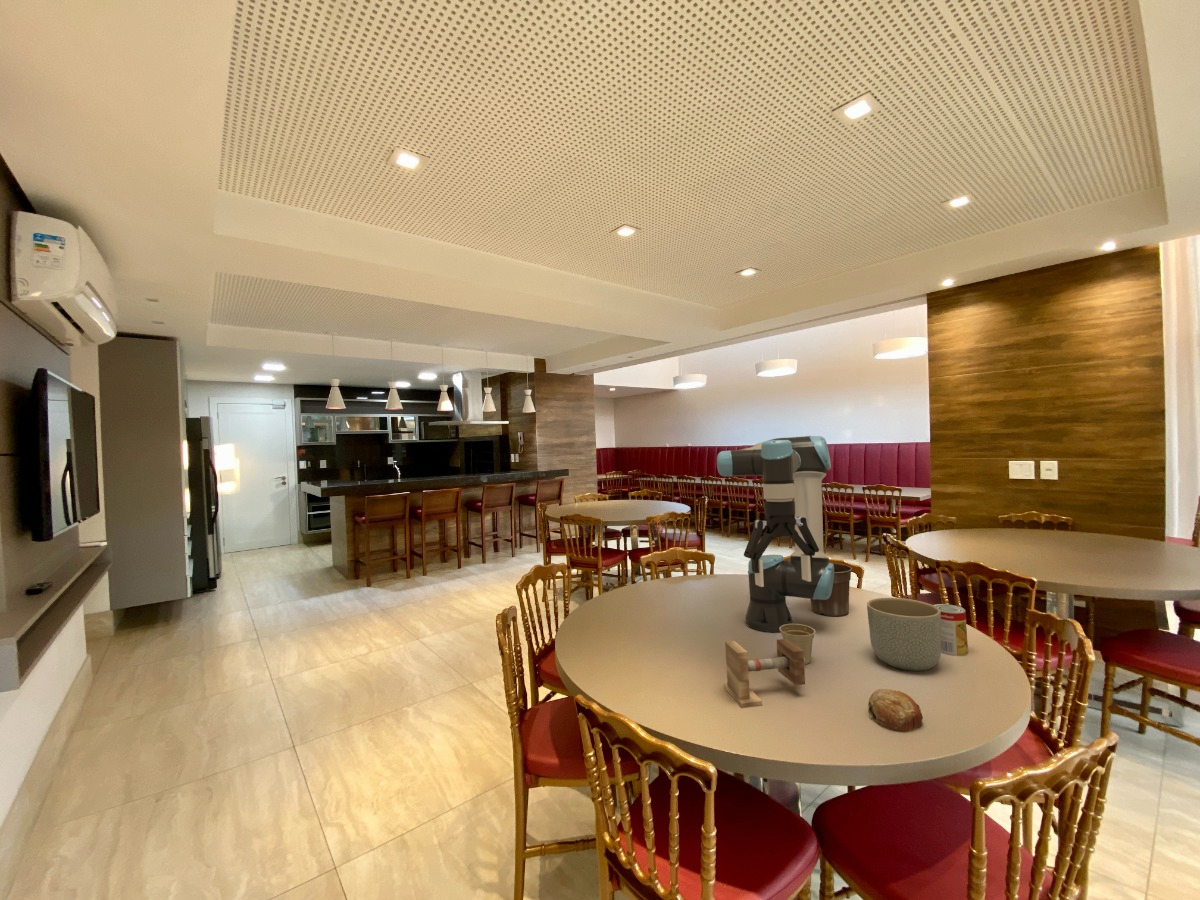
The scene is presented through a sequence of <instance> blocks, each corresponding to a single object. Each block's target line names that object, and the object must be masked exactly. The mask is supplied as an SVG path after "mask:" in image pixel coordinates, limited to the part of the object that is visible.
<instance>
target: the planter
mask: <svg viewBox="0 0 1200 900" xmlns="http://www.w3.org/2000/svg"><path fill="white" fill-rule="evenodd" d="M934 605H935V604H931V603H928V602H925V601H920V600H916V599H910V598H904V597H903V598H902V597H901V598H900V597H879V598H873V599H870V600H869V601H867V603H866V609H867V619H868V631H869V639H870V645H871V648H872V650H873V652H874V654H875V655H876V656H877V658H879V660H881V661H882V662H884V663H885V664H886V665H888V666H891V667H894V668H896V669H900V670H904V671H909V672H921V671H927V670H929V669H932V668H934V667H935V666H936V665H937V664H938V663H939V661H940V660H941V656H942V653H941V611H940V609H939V608H937V607H936V606H934Z"/></svg>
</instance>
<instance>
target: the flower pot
mask: <svg viewBox="0 0 1200 900" xmlns="http://www.w3.org/2000/svg"><path fill="white" fill-rule="evenodd" d="M779 630H780V631H781V632H780V634H781V637H782V639H787V640H788V641H790V642H791V643H793V644H794V645H796V646H797V647H799V648H800V649H802V650H803V653H804V658H805V665H808V664H809V663H810V662H812V651H813V639H814V638H815V634H816V629H814V628H813V627H812V626H809V625H806V624H799V623H792V624H785V625H782V626H781V627H780V628H779Z"/></svg>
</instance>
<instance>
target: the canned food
mask: <svg viewBox="0 0 1200 900" xmlns="http://www.w3.org/2000/svg"><path fill="white" fill-rule="evenodd" d="M933 605H934V606H936V607H937V608H939V609H940V611H941V654H944V655H947V656H956V657H964V656H967V655H968V654H969V648H968V646H969V645H968V632H967V630H968V629H967V613H966V609H965V608H963V607H962V606H959V605H953V604H944V603H937V604H933Z"/></svg>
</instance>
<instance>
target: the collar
mask: <svg viewBox="0 0 1200 900" xmlns="http://www.w3.org/2000/svg"><path fill="white" fill-rule="evenodd" d="M776 654H777V657H785V656H787V657H788V658H789V667H784V668H777V671H778V672H779V673H780V675H782V676H783V677H784V678H786V679H787V680H788V681H790V682H791V683H792V684H793V685H794V686H795V687H796V686H803V685H806V675H805V673H806V672H805V671H806V670H805V665H804V653H803V650H802V649H800V648H799V647H797V646H796V645H794V644H793V643H791V642H790V641H788V640H787V639H783V638H780V639H776ZM777 657H776V658H777Z"/></svg>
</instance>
